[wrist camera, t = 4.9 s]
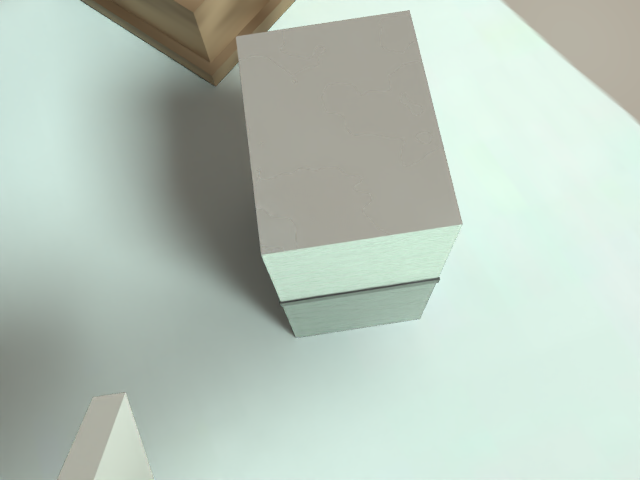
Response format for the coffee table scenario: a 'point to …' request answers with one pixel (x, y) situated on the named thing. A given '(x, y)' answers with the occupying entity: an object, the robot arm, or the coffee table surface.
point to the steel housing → (347, 171)
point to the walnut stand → (195, 28)
